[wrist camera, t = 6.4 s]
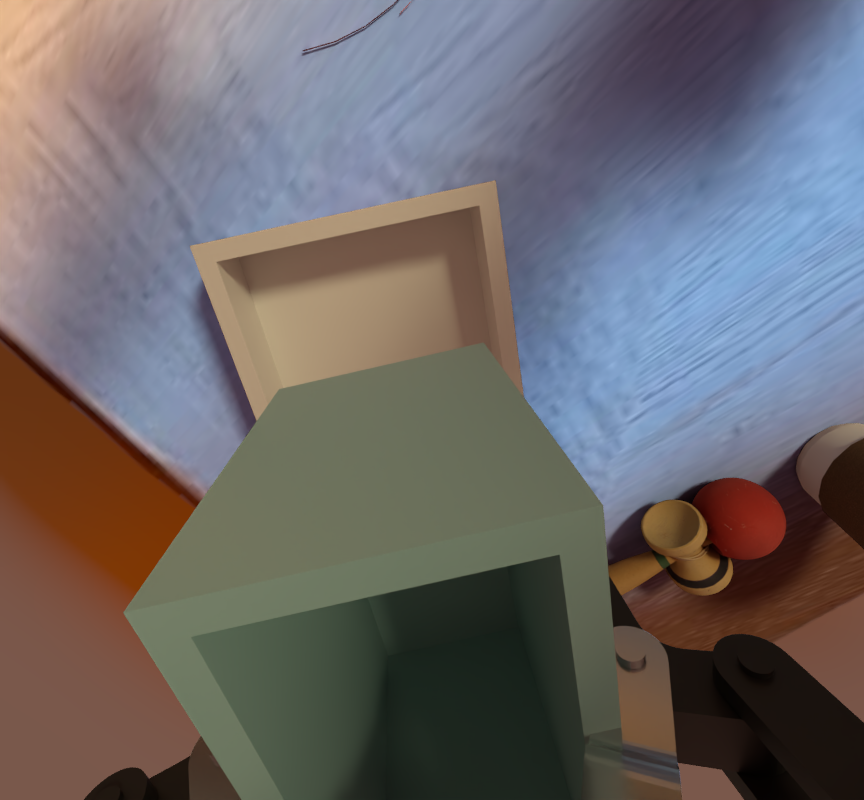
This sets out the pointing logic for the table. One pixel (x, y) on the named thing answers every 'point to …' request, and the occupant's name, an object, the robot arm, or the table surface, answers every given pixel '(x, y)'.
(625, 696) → the robot arm
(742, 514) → the kendama
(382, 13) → the pink thin branched figure
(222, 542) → the teal tote
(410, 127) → the table surface
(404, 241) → the beige tray
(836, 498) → the coffee cup
